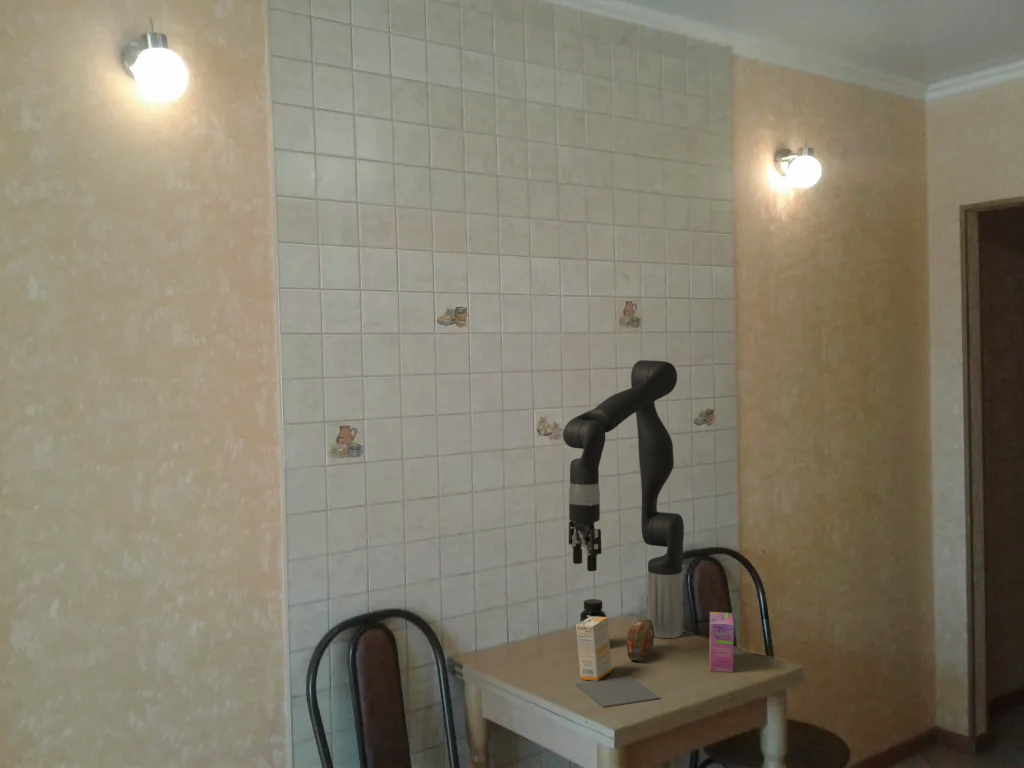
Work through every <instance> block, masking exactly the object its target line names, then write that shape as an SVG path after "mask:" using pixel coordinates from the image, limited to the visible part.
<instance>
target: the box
mask: <svg viewBox="0 0 1024 768" xmlns="http://www.w3.org/2000/svg"><path fill="white" fill-rule="evenodd" d="M734 639H735V623H734V615H733V612H725V611H724V612H723V611H722V612H721V611H709V671H710V672H714V673H715V672H716V673H729V674H730V673H733V674H734V654H735V653H734V652H735V651H734V645H735V644H734V643H735V642H734V641H735V640H734Z"/></svg>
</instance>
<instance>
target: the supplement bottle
mask: <svg viewBox="0 0 1024 768" xmlns="http://www.w3.org/2000/svg"><path fill="white" fill-rule="evenodd" d="M583 609H584V610H582V611H581V612H580V615H579V623H580V622H582V621H584V620H586V619H587V618H589V617H591V616H594V617H607V614H606V612H605V611H604V610H603V601H602V600H600V599H597V598H588V599H585V600H584V601H583Z"/></svg>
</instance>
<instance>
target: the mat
mask: <svg viewBox="0 0 1024 768" xmlns="http://www.w3.org/2000/svg"><path fill="white" fill-rule="evenodd" d="M574 685H575V686H576V687H577V688H578V689H580V690H581V692H583V693H584V694H586V695H587V696H588V697H590V698H591V699H592V700H593V701H594V702H595V703H597V704H598V705H599V704H600V707H602V708H608V707H609V706H610V707H615V706H622V705H629V704H635V703H641V702H647V701H655V700H660V699H661V697H660V696H659V695H657V694H656V693H654V692H653V691H651V690H650V689H649V688H648V687H646V686H645V685H643V684H642V683H641V682H638V681H637V680H636V679H635V678H633V677H632V676H631V675H628V676H620V677H614V678H613V677H612V678H607V679H600V680H598V681H592V680H589V681H584V682H576V683H575V684H574Z"/></svg>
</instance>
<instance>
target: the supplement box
mask: <svg viewBox="0 0 1024 768" xmlns="http://www.w3.org/2000/svg"><path fill="white" fill-rule="evenodd" d="M608 619H609V618H608V617H607V616H606V617H594V616H591V617H589V618H587V619H586V620H584V621H582V622H580V621H579V622H578V623H577V624H576V625H575V628H576V638H577V640H576V641H577V651H578V653H577V654H578V663H579V675H580V680H582V681H583V680H584V681H598V680H602V678H603V677H605V676H606V675H608V674H609V673H611V672H612V671H613V670H612V656H611V646H610V643H611V642H610V631H609V622H608Z"/></svg>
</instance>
